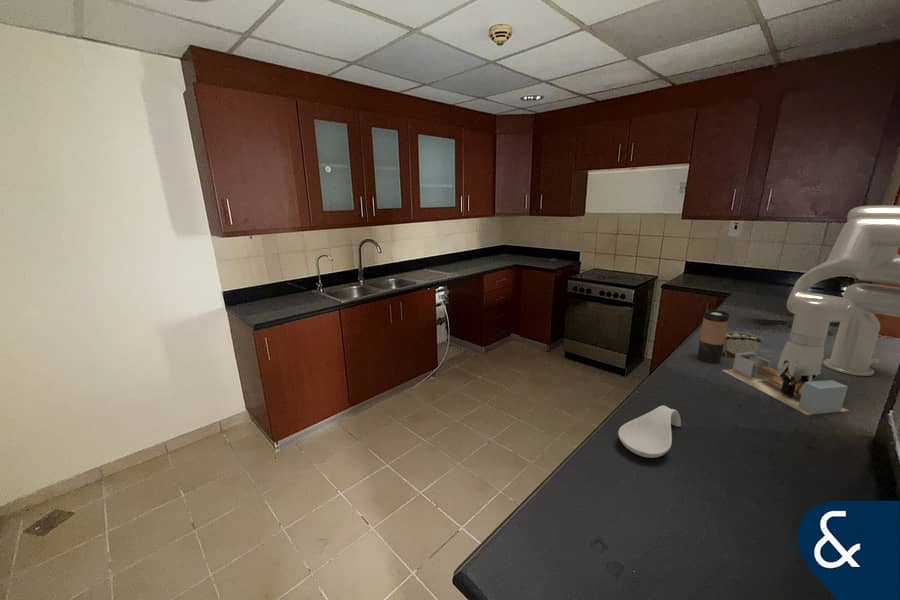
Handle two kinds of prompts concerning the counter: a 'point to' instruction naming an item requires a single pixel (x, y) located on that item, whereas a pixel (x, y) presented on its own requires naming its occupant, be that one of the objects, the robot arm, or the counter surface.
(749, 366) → the sleeve
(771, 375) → the tube
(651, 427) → the spoon rest
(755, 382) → the board
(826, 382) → the socket
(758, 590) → the counter surface
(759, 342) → the food container
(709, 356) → the travel mug
